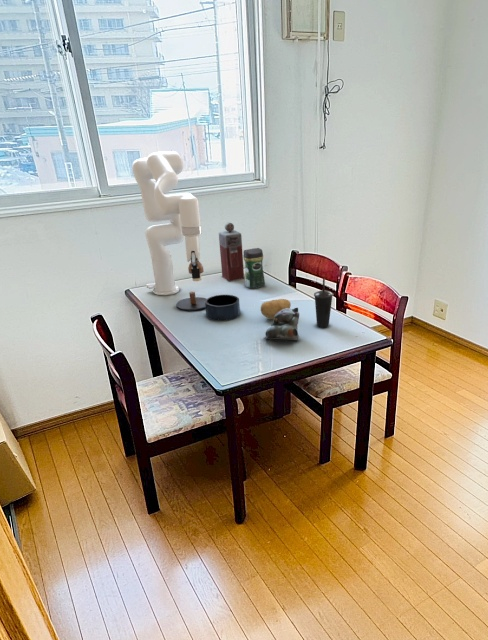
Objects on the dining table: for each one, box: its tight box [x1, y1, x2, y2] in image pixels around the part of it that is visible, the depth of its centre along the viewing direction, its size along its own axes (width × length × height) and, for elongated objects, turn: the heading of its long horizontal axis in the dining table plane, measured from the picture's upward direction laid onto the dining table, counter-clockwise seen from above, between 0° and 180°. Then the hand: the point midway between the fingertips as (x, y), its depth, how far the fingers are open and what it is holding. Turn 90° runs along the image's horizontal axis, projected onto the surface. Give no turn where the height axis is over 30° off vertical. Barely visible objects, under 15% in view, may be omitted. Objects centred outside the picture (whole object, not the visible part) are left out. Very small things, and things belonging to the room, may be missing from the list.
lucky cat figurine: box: [263, 307, 300, 342], centre depth 191 cm, size 15×12×14 cm
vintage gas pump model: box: [218, 221, 245, 282], centre depth 254 cm, size 9×11×28 cm
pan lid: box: [175, 291, 207, 311], centre depth 226 cm, size 16×16×6 cm
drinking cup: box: [313, 277, 334, 329], centre depth 199 cm, size 8×8×20 cm
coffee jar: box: [243, 247, 266, 289], centre depth 245 cm, size 10×8×19 cm
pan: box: [205, 294, 241, 322], centre depth 216 cm, size 15×15×6 cm
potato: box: [260, 298, 291, 320], centre depth 211 cm, size 10×14×8 cm
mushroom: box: [187, 260, 204, 282], centre depth 202 cm, size 6×6×8 cm
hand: (196, 275), depth 203 cm, fingers closed on mushroom, 6 cm apart
